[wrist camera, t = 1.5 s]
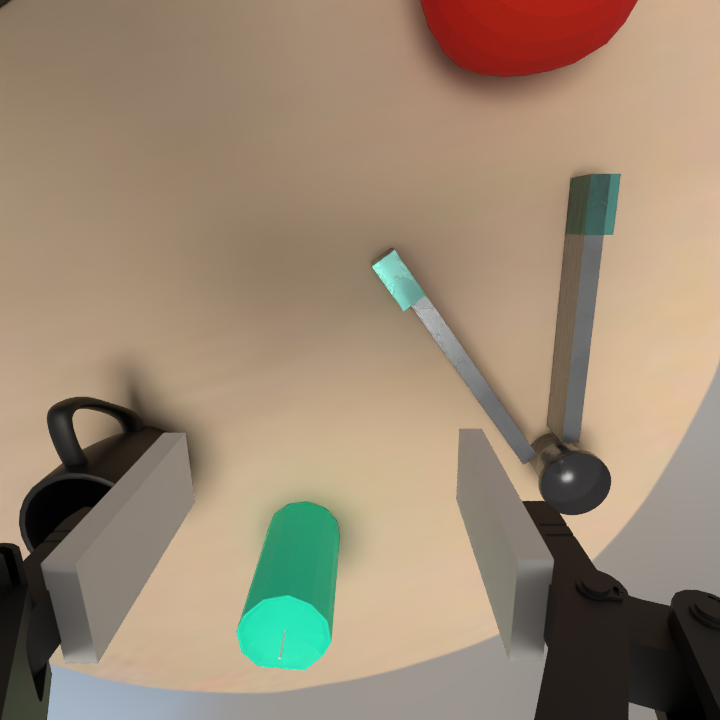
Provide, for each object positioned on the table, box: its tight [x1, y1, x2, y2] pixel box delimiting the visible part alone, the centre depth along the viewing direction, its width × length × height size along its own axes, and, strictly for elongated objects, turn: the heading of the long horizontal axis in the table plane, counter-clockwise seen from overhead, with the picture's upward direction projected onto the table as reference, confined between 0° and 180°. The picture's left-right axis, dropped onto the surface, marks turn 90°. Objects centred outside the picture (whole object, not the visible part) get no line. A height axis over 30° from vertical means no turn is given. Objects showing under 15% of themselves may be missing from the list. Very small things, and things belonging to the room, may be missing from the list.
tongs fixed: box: [530, 174, 621, 515], centre depth 33 cm, size 23×5×5 cm, turn 1°
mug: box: [19, 397, 167, 553], centre depth 33 cm, size 8×12×10 cm
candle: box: [237, 502, 340, 670], centre depth 35 cm, size 6×6×12 cm
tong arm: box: [372, 248, 537, 464], centre depth 34 cm, size 18×2×3 cm, turn 36°
